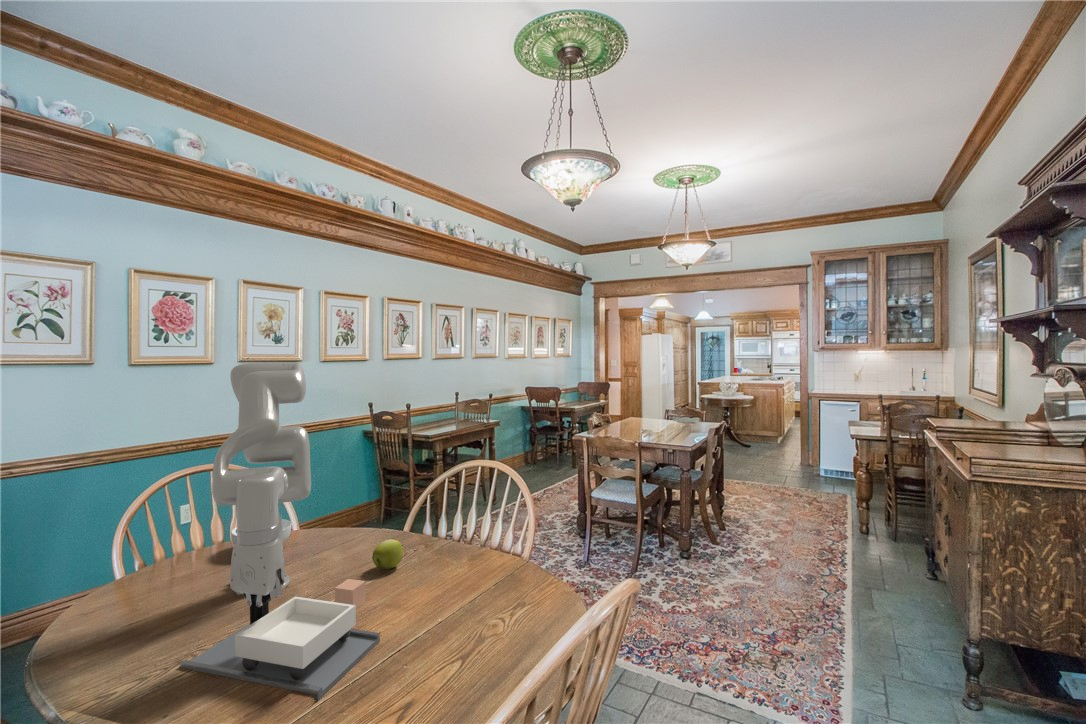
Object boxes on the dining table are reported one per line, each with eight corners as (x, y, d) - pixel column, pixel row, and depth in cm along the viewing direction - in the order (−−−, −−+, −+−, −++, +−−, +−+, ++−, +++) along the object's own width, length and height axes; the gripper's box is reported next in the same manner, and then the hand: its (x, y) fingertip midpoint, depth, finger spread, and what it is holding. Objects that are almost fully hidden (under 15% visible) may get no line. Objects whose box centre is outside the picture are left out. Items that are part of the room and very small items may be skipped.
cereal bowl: (249, 563, 148) (248, 540, 148) (221, 552, 157) (220, 529, 157) (302, 544, 163) (302, 523, 163) (274, 535, 172) (273, 515, 171)
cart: (235, 670, 96) (234, 634, 96) (295, 627, 111) (295, 596, 111) (303, 684, 92) (302, 646, 92) (356, 637, 107) (355, 605, 107)
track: (180, 672, 97) (180, 662, 97) (259, 621, 116) (258, 613, 116) (318, 700, 89) (318, 690, 89) (379, 641, 107) (379, 633, 107)
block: (335, 612, 119) (334, 587, 119) (348, 602, 124) (348, 578, 124) (353, 615, 118) (352, 590, 118) (365, 605, 123) (365, 581, 123)
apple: (410, 565, 146) (409, 538, 146) (385, 576, 139) (385, 548, 138) (392, 559, 150) (391, 533, 150) (367, 570, 143) (366, 542, 143)
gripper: (213, 538, 102) (215, 627, 102) (273, 544, 98) (274, 637, 98) (244, 526, 109) (246, 609, 109) (301, 531, 105) (302, 618, 105)
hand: (259, 622), depth 104 cm, fingers closed
